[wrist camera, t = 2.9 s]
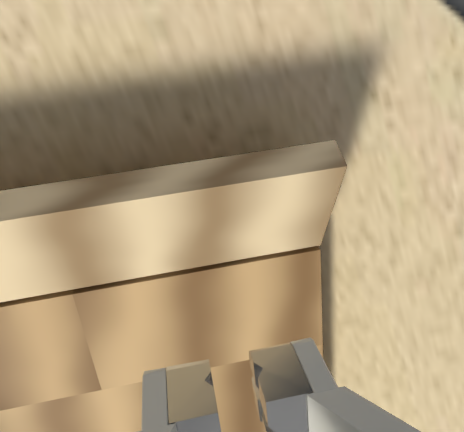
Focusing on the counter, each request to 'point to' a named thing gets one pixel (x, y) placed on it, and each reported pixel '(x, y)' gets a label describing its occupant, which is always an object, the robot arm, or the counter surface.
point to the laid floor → (152, 341)
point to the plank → (165, 218)
